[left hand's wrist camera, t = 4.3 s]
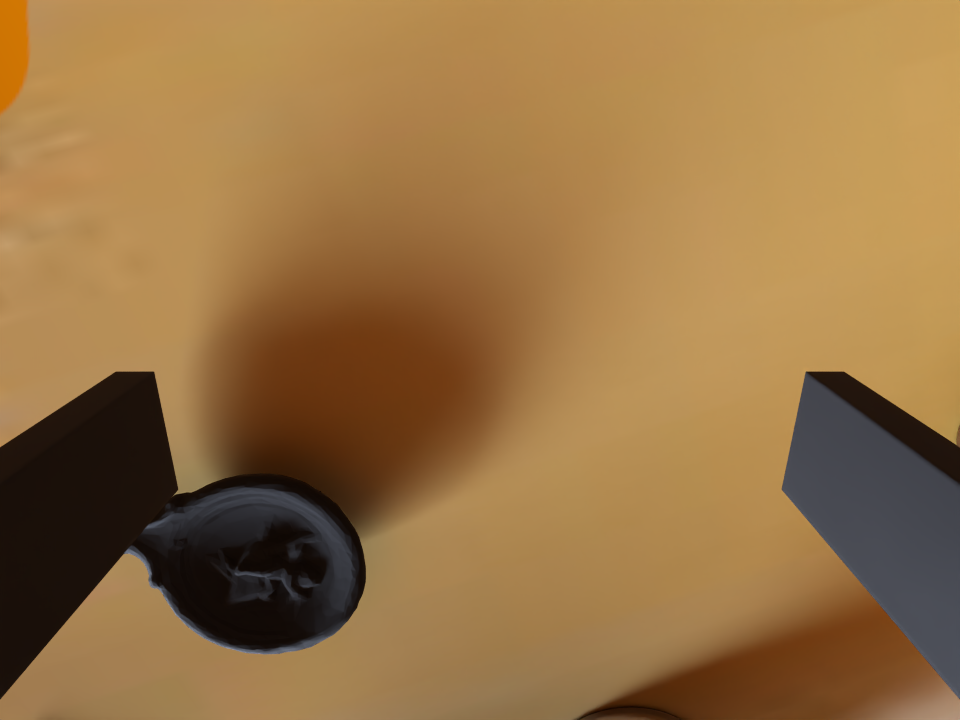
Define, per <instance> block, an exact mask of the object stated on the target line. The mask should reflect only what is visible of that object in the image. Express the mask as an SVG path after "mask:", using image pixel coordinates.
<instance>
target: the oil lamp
mask: <svg viewBox="0 0 960 720" xmlns="http://www.w3.org/2000/svg"><path fill="white" fill-rule="evenodd" d="M124 554H132V555H134V556H136V557H138V558H139V559H140V560H141V561H142V562H143V563H144V564H145V566H146V568H147V570H148V573H149V584H150V586H151V587H152V588H157V589H159V590H160V591H161V592H162V594H163V595H164V597H165V599H166V601H167V602H168V604H169V605H170V607H171V608H172V610H173V611H174V613H175V614H176V616H177V617H179V618H180V619H181V620H182V621H183V622H184V623H185V624H186V625H187V626H188V627H189V628H190V629H192V630H193V631H194V632H195V633H197V634H198V635H200V636H201V637H203V638H204V639H206V640H208V641H210V642H213V643H215V644H217V645H219V646H222V647H225V648H229V649H233V650H237V651H241V652H245V653H254V654H280V653H284V652H290V651H297V650H301V649H305V648H309V647H312V646H314V645H315V644H317V643H319V642H321V641H323V640H325V639H327V638H328V637H330V636H332V635H334V634H335V633H336V632H337V631H338V630H339V629H340V628H341V627H342V626H343V625H344V624H345V623H346V622H347V621H348V620H349V618H350V617H351V615H352V614H353V612H354V611H355V610H356V608H357V606H358V603H359V600H360V598H361V596H362V594H363V591H364V587H365V582H366V566H365V560H364V554H363V549H362V546H361V542H360V539H359V536H358V534H357V532H356V530H355V528H354V527H353V526H352V524H351V523H350V521H349V520H348V518H347V517H346V516H345V514H344V513H343V512H342V510H341V509H340V508H339V507H338V505H337V504H336V503H334V502H333V501H332V500H331V499H329V498H328V497H327V496H325V495H324V494H323V493H321V491H318V490H316V489H315V488H313V487H312V486H310V485H308V484H307V483H305V482H302V481H300V480H297V479H294V478H290V477H287V476H283V475H276V474H245V475H238V476H234V477H229V478H225V479H222V480H219V481H216V482H213V483H211V484H208V485H206V486H205V487H203V488H201V489H199V490H197V491H194V492H192V493H183V494H177V495H174V496H173V497H172V498H171V499H170V500H169V501H168V502H167V503H166V505H165V506H164V507H163V508H162V509H161V510H160V512H159V513H158V514H157V515H156V516H155V517H154V519H153V520H152V521H151V522H150V523H149V525H148V526H147V527H146V528H145V529H144V530H143V532H142V533H141V534H140V535H139V536H138V538H137V539H136V540H135V541H134V542H133V543H132V545H131V546H130V547H129V548H128V549H127V550H126V552H125V553H124Z"/></svg>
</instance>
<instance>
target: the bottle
mask: <svg viewBox="0 0 960 720" xmlns="http://www.w3.org/2000/svg"><path fill="white" fill-rule="evenodd" d="M957 446H958V447H960V426H959V429H958V433H957Z"/></svg>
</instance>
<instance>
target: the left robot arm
mask: <svg viewBox="0 0 960 720" xmlns="http://www.w3.org/2000/svg"><path fill="white" fill-rule="evenodd" d="M177 490H178V486H177V481H176V476H175V471H174V466H173V461H172V457H171V452H170V447H169V442H168V437H167V432H166V427H165V422H164V418H163V413H162V408H161V403H160V398H159V393H158V388H157V383H156V379H155V374H154V372H115V373H113V374H112V375H110V376H109V377H107V378H106V379H104V380H103V381H101V382H100V383H98V384H96V385H95V386H93V387H92V388H90V389H89V390H87V391H86V392H84V393H83V394H81V395H80V396H78V397H77V398H75V399H73V400H72V401H70V402H69V403H67V404H66V405H64V406H63V407H61V408H60V409H58V410H57V411H55V412H54V413H52V414H51V415H49V416H47V417H46V418H44V419H43V420H41V421H40V422H38V423H37V424H35V425H34V426H32V427H31V428H29V429H28V430H26V431H25V432H23V433H21V434H20V435H18V436H17V437H15V438H14V439H12V440H11V441H9V442H8V443H6V444H5V445H3V446H2V447H0V699H1V698H2V697H3V695H4V694H5V693H6V692H7V691H8V690H9V688H10V687H11V686H12V685H13V684H14V682H15V681H16V680H17V679H18V678H19V677H20V675H21V674H22V673H23V672H24V671H25V670H26V668H27V667H28V666H29V665H30V664H31V662H32V661H33V660H34V659H35V658H36V657H37V655H38V654H39V653H40V652H41V651H42V649H43V648H44V647H45V646H46V645H47V644H48V642H49V641H50V640H51V639H52V638H53V637H54V635H55V634H56V633H57V632H58V631H59V629H60V628H61V627H62V626H63V625H64V624H65V622H66V621H67V620H68V619H69V618H70V616H71V615H72V614H73V613H74V612H75V611H76V609H77V608H78V607H79V606H80V605H81V604H82V602H83V601H84V600H85V599H86V598H87V596H88V595H89V594H90V593H91V592H92V591H93V589H94V588H95V587H96V586H97V585H98V583H99V582H100V581H101V580H102V579H103V578H104V576H105V575H106V574H107V573H108V572H109V571H110V569H111V568H112V567H113V566H114V565H115V563H116V562H117V561H118V560H119V559H120V558H121V556H122V555H123V554H124V553H125V552H126V550H127V549H128V548H129V547H130V546H131V545H132V543H133V542H134V541H135V540H136V539H137V538H138V536H139V535H140V534H141V533H142V532H143V530H144V529H145V528H146V527H147V526H148V525H149V523H150V522H151V521H152V520H153V519H154V517H155V516H156V515H157V514H158V513H159V512H160V510H161V509H162V508H163V507H164V506H165V505H166V503H167V502H168V501H169V500H170V499H171V497H172V496H173V495H174V494H175V493H176V492H177ZM782 490H783V492H784V493H785V494H786V495H787V496H788V497H789V499H790V500H791V501H792V502H793V503H794V505H795V506H796V507H797V508H798V509H799V510H800V512H801V513H802V514H803V515H804V516H805V517H806V519H807V520H808V521H809V522H810V523H811V525H812V526H813V527H814V528H815V529H816V530H817V532H818V533H819V534H820V535H821V536H822V538H823V539H824V540H825V541H826V542H827V543H828V545H829V546H830V547H831V548H832V549H833V550H834V552H835V553H836V554H837V555H838V556H839V558H840V559H841V560H842V561H843V562H844V563H845V565H846V566H847V567H848V568H849V569H850V571H851V572H852V573H853V574H854V575H855V576H856V578H857V579H858V580H859V581H860V582H861V583H862V585H863V586H864V587H865V588H866V589H867V591H868V592H869V593H870V594H871V595H872V596H873V598H874V599H875V600H876V601H877V602H878V604H879V605H880V606H881V607H882V608H883V609H884V611H885V612H886V613H887V614H888V615H889V616H890V618H891V619H892V620H893V621H894V622H895V624H896V625H897V626H898V627H899V628H900V629H901V631H902V632H903V633H904V634H905V635H906V637H907V638H908V639H909V640H910V641H911V642H912V644H913V645H914V646H915V647H916V648H917V649H918V651H919V652H920V653H921V654H922V655H923V657H924V658H925V659H926V660H927V661H928V662H929V664H930V665H931V666H932V667H933V668H934V670H935V671H936V672H937V673H938V674H939V675H940V677H941V678H942V679H943V680H944V681H945V683H946V684H947V685H948V686H949V687H950V688H951V690H952V691H953V692H954V693H955V694H956V695H957V697H958V698H959V699H960V447H958V446H957V445H955V444H954V443H952V442H951V441H949V440H948V439H946V438H945V437H943V436H942V435H940V434H939V433H937V432H935V431H934V430H932V429H931V428H929V427H928V426H926V425H925V424H923V423H922V422H920V421H919V420H917V419H916V418H914V417H913V416H911V415H909V414H908V413H906V412H905V411H903V410H902V409H900V408H899V407H897V406H896V405H894V404H893V403H891V402H890V401H888V400H887V399H885V398H883V397H882V396H880V395H879V394H877V393H876V392H874V391H873V390H871V389H870V388H868V387H867V386H865V385H864V384H862V383H860V382H859V381H857V380H856V379H854V378H853V377H851V376H850V375H848V374H847V373H845V372H806V374H805V379H804V383H803V388H802V393H801V398H800V403H799V408H798V413H797V418H796V422H795V427H794V432H793V437H792V442H791V447H790V452H789V457H788V461H787V466H786V471H785V476H784V481H783V486H782ZM580 720H680V719H678V718H676V717H674V716H672V715H670V714H667V713H664V712H661V711H657V710H652V709H646V708H632V707H630V708H616V709H610V710H605V711H601V712H597V713H594V714H591V715H588V716H586V717H584V718H581V719H580Z"/></svg>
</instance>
